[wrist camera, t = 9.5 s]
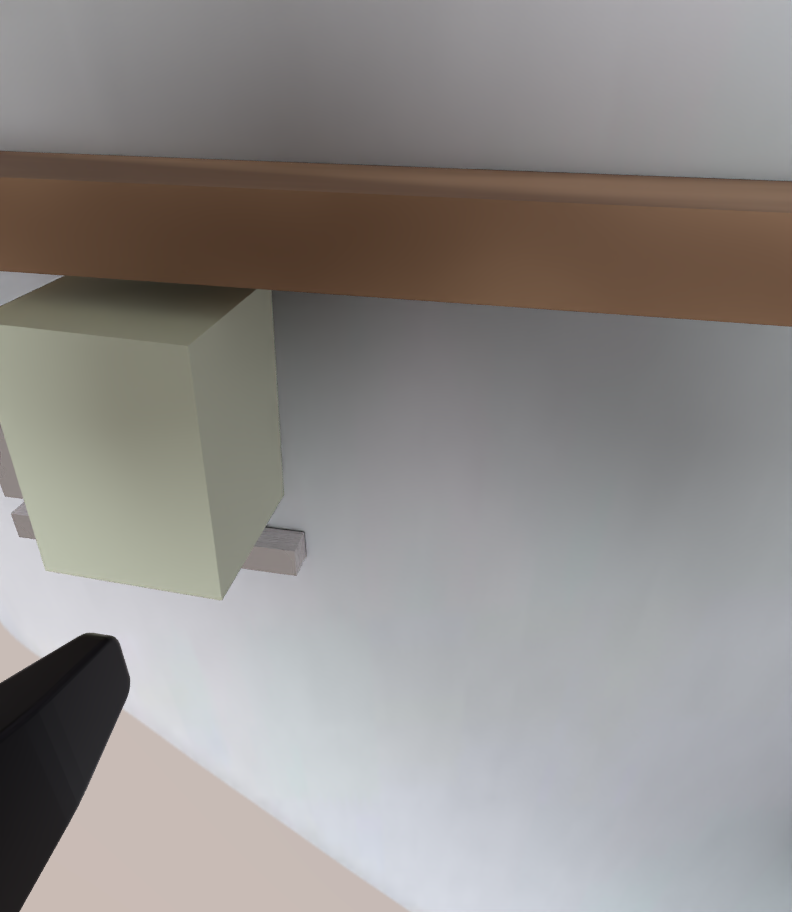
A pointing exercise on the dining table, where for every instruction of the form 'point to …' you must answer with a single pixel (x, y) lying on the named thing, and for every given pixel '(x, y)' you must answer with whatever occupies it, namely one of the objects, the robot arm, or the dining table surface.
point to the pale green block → (143, 428)
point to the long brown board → (408, 233)
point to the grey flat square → (268, 554)
